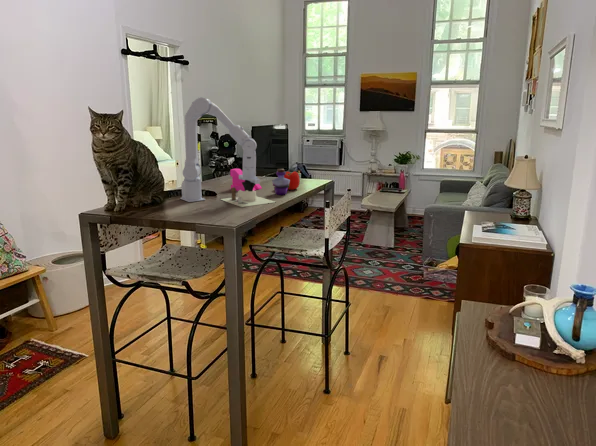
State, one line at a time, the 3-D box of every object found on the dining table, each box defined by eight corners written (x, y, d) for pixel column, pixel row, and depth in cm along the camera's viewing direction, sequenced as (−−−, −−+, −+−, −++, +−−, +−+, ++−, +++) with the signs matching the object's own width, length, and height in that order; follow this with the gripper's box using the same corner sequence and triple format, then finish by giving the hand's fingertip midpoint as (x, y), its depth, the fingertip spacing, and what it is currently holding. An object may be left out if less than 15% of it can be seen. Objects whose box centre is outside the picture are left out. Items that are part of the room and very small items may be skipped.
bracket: (230, 190, 223) (230, 169, 221) (241, 187, 233) (240, 167, 230) (252, 192, 219) (251, 171, 216) (261, 188, 228) (261, 168, 226)
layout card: (220, 199, 199) (220, 198, 199) (253, 195, 209) (253, 194, 209) (242, 207, 185) (242, 206, 185) (276, 202, 195) (276, 201, 194)
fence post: (230, 200, 198) (230, 187, 196) (234, 199, 199) (234, 186, 198) (232, 201, 196) (232, 187, 195) (236, 200, 198) (236, 187, 196)
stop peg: (237, 204, 190) (237, 197, 190) (240, 203, 191) (240, 197, 191) (239, 204, 189) (239, 198, 188) (242, 204, 190) (242, 197, 189)
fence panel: (237, 199, 197) (237, 190, 196) (238, 199, 198) (238, 190, 197) (255, 200, 196) (255, 191, 195) (256, 200, 197) (256, 190, 196)
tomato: (301, 187, 232) (301, 170, 229) (295, 191, 220) (296, 173, 218) (281, 186, 234) (281, 169, 232) (275, 190, 223) (274, 172, 221)
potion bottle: (293, 194, 214) (293, 168, 211) (281, 196, 208) (281, 170, 205) (280, 191, 220) (280, 167, 217) (268, 194, 213) (267, 169, 210)
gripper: (266, 168, 192) (265, 199, 195) (248, 164, 203) (248, 194, 207) (252, 169, 188) (251, 201, 191) (234, 165, 199) (234, 195, 202)
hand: (248, 197), depth 199 cm, fingers closed, pressing on fence panel
